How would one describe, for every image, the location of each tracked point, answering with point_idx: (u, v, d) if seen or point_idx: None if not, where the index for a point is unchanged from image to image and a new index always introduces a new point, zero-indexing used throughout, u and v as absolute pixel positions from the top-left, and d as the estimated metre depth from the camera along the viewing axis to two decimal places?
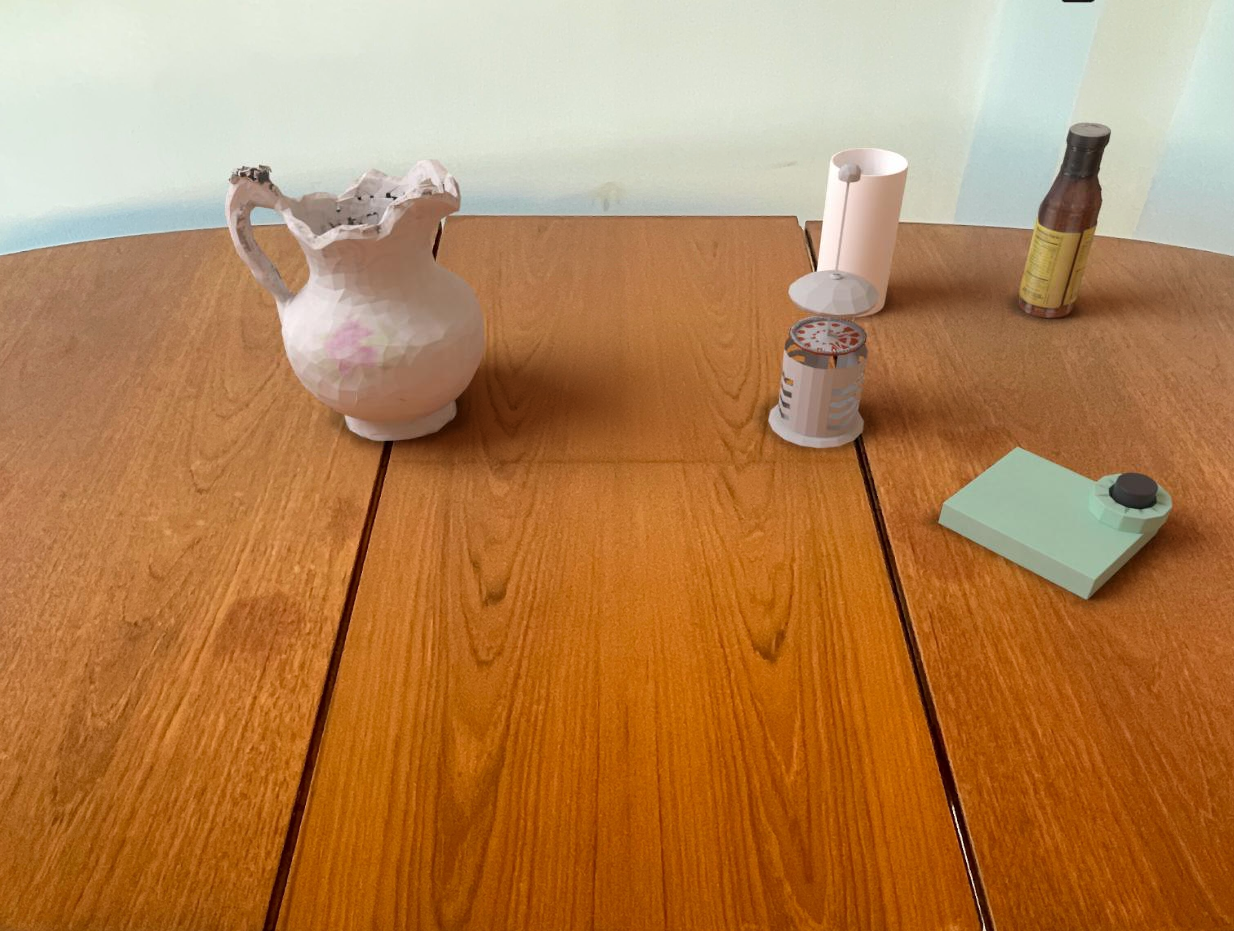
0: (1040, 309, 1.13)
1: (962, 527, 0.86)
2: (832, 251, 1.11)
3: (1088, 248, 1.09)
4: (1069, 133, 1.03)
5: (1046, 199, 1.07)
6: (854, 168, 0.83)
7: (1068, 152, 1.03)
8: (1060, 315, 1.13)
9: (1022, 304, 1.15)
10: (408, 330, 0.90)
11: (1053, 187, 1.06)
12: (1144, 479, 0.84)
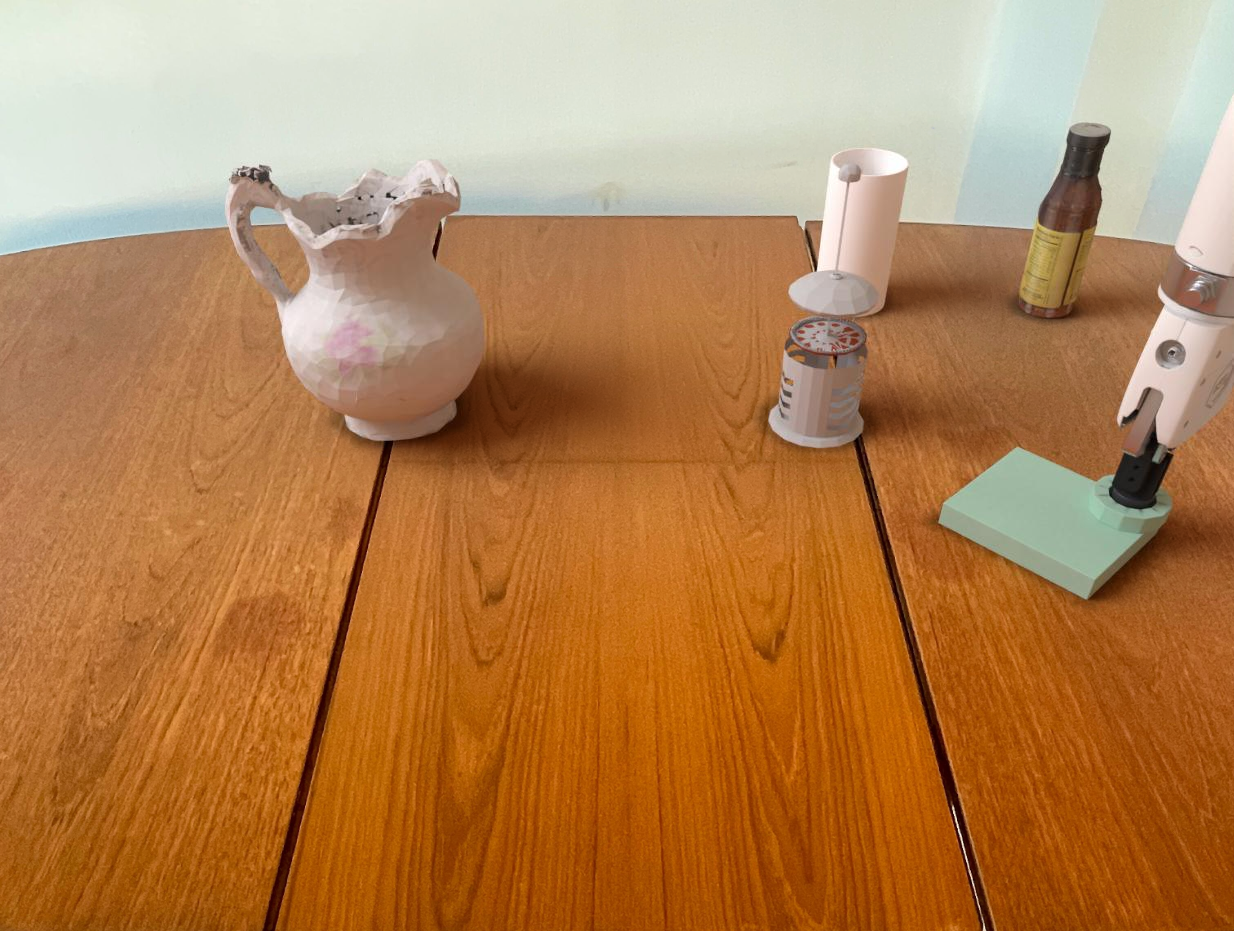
0: (1040, 309, 1.13)
1: (962, 527, 0.86)
2: (832, 251, 1.11)
3: (1088, 248, 1.09)
4: (1069, 133, 1.03)
5: (1046, 199, 1.07)
6: (854, 168, 0.83)
7: (1068, 152, 1.03)
8: (1060, 315, 1.13)
9: (1022, 304, 1.15)
10: (408, 330, 0.90)
11: (1053, 187, 1.06)
12: None
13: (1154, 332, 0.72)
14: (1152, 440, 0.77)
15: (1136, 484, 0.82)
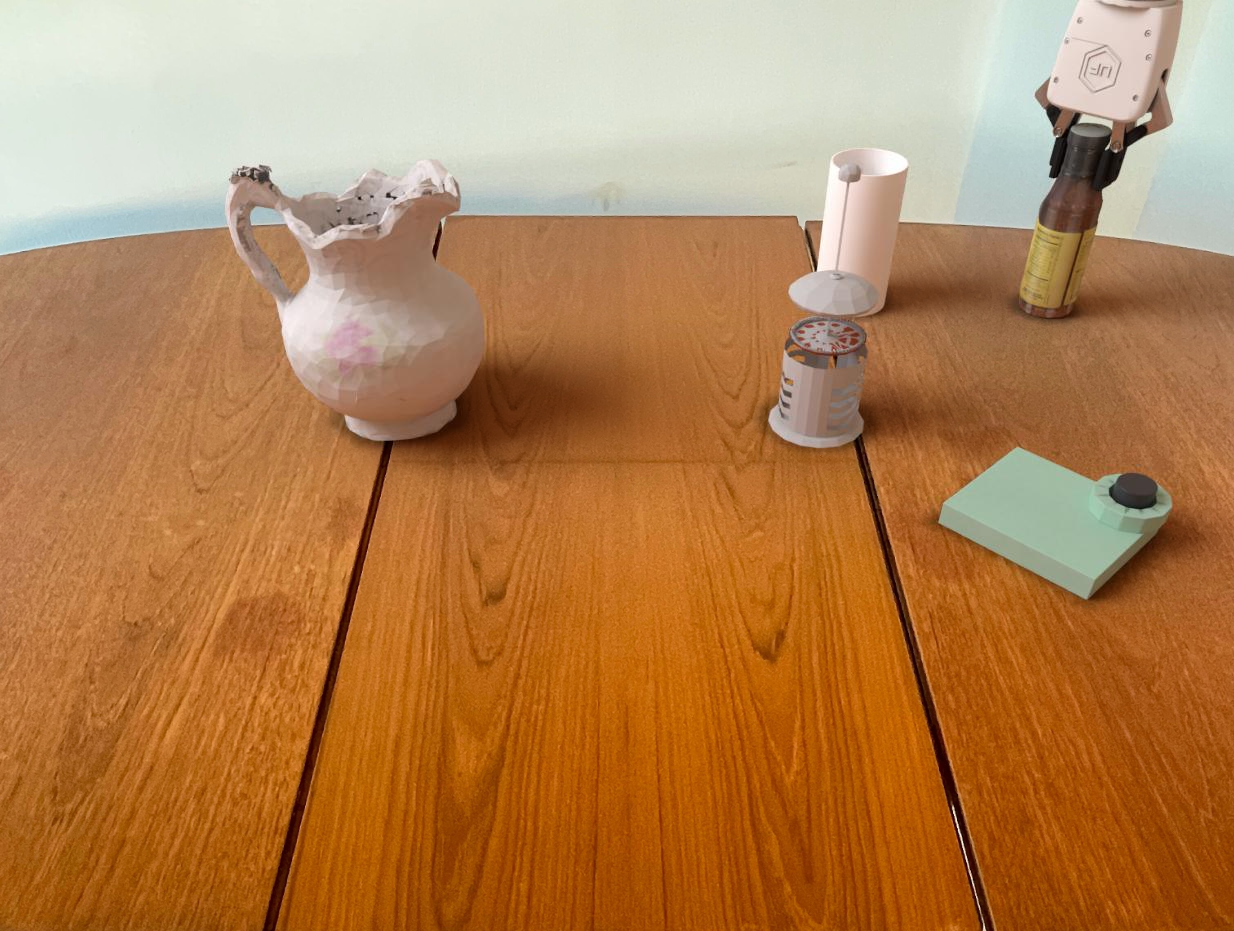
0: (1040, 309, 1.13)
1: (962, 527, 0.86)
2: (832, 251, 1.11)
3: (1088, 248, 1.09)
4: (1070, 133, 1.03)
5: (1047, 199, 1.07)
6: (854, 168, 0.83)
7: (1068, 152, 1.03)
8: (1060, 315, 1.13)
9: (1022, 304, 1.15)
10: (408, 330, 0.90)
11: (1054, 187, 1.06)
12: (1144, 479, 0.84)
13: None
14: (1052, 104, 1.04)
15: None
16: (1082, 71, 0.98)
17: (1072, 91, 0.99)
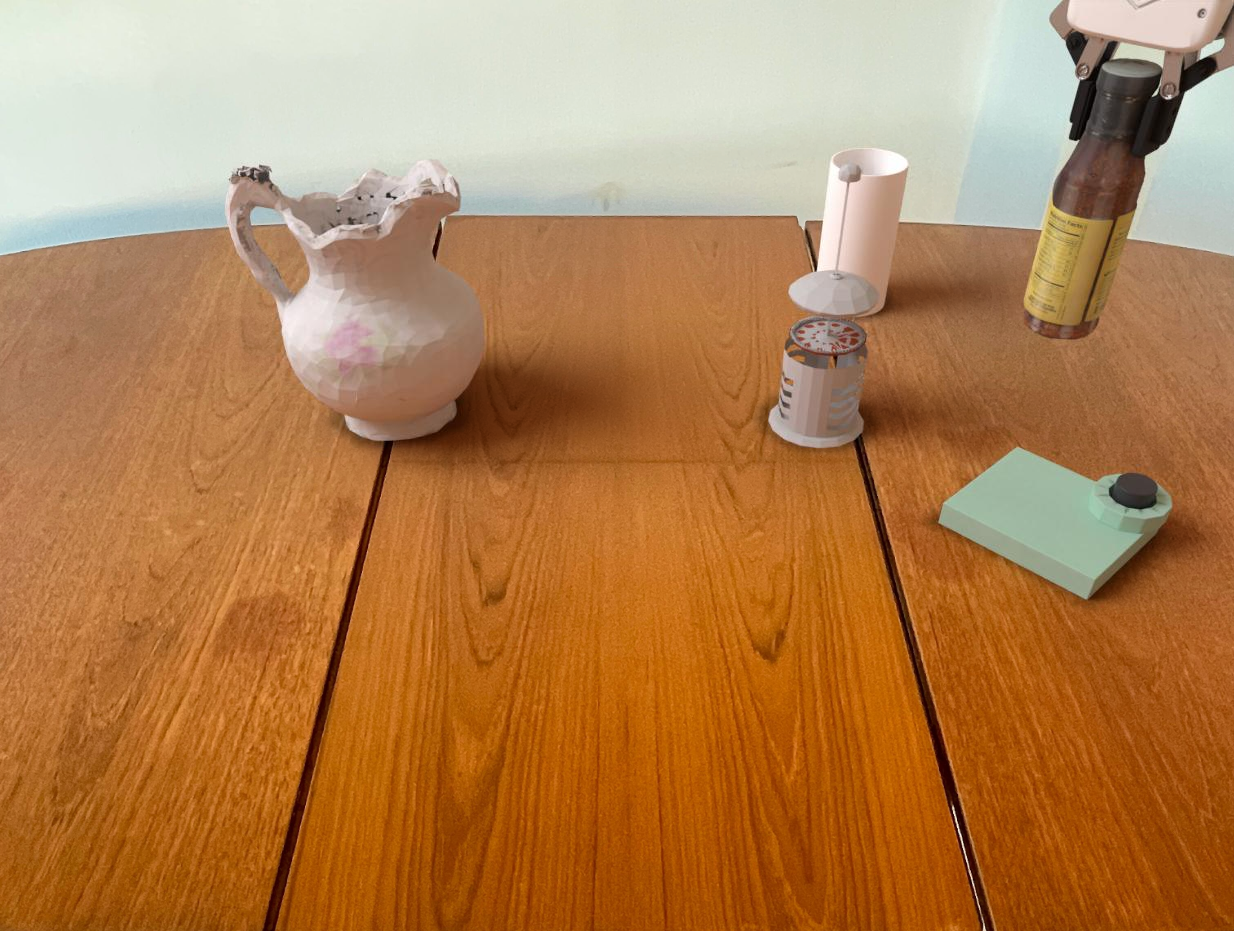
0: (1052, 326, 0.81)
1: (962, 527, 0.86)
2: (832, 251, 1.11)
3: (1123, 242, 0.76)
4: (1101, 73, 0.70)
5: (1065, 171, 0.74)
6: (854, 168, 0.83)
7: (1098, 101, 0.71)
8: (1080, 335, 0.81)
9: (1028, 318, 0.83)
10: (408, 330, 0.90)
11: (1075, 153, 0.74)
12: (1144, 479, 0.84)
13: None
14: (1074, 32, 0.71)
15: None
16: None
17: (1105, 7, 0.67)
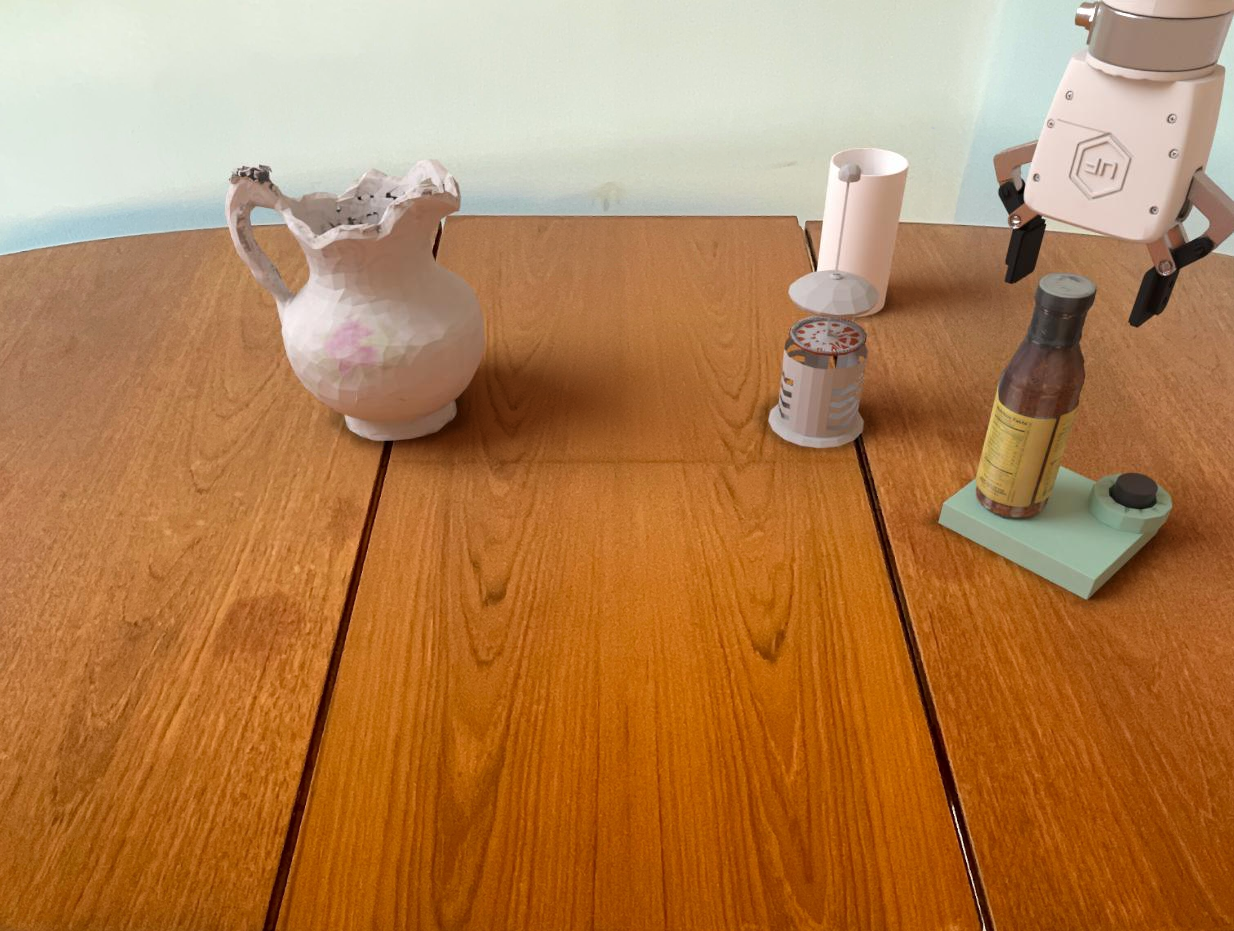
0: (1003, 507, 0.84)
1: (962, 527, 0.86)
2: (832, 251, 1.11)
3: (1067, 434, 0.79)
4: (1038, 289, 0.73)
5: (1009, 373, 0.77)
6: (854, 168, 0.83)
7: (1037, 314, 0.74)
8: (1030, 514, 0.84)
9: (980, 497, 0.85)
10: (408, 330, 0.90)
11: (1017, 357, 0.76)
12: (1144, 479, 0.84)
13: None
14: (1006, 183, 0.72)
15: None
16: (1074, 168, 0.66)
17: (1060, 195, 0.68)
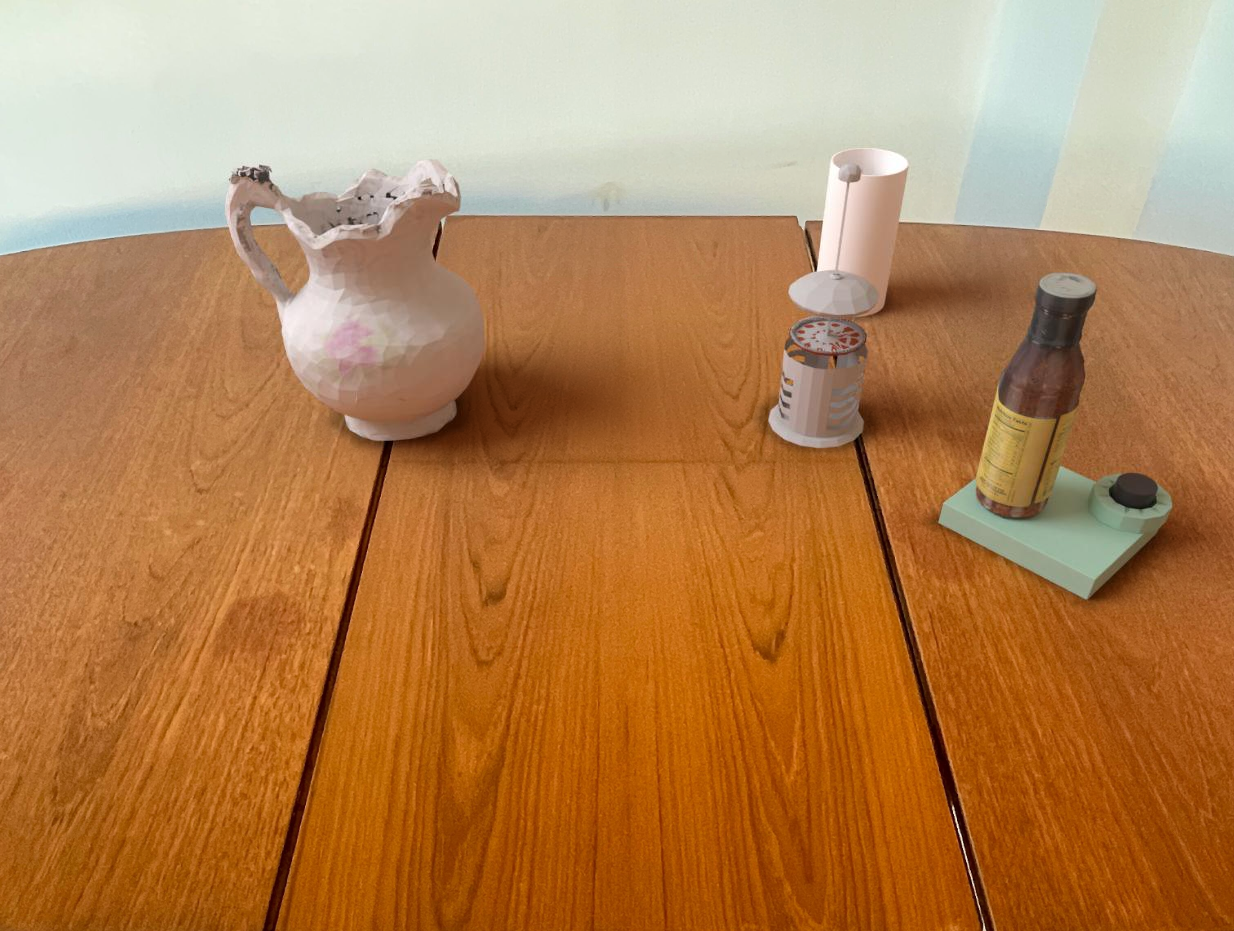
0: (1003, 507, 0.84)
1: (962, 527, 0.86)
2: (832, 251, 1.11)
3: (1067, 434, 0.79)
4: (1038, 289, 0.73)
5: (1009, 373, 0.77)
6: (854, 168, 0.83)
7: (1037, 314, 0.74)
8: (1030, 514, 0.84)
9: (980, 497, 0.85)
10: (408, 330, 0.90)
11: (1018, 357, 0.76)
12: (1144, 479, 0.84)
13: None
14: None
15: None
16: None
17: None
